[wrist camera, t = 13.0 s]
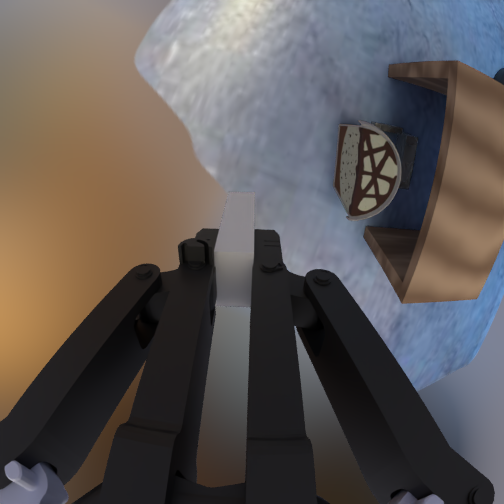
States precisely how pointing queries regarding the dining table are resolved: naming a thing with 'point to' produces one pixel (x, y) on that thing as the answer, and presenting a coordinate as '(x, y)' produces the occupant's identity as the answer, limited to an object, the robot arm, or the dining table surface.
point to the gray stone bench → (402, 151)
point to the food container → (365, 170)
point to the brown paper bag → (452, 192)
